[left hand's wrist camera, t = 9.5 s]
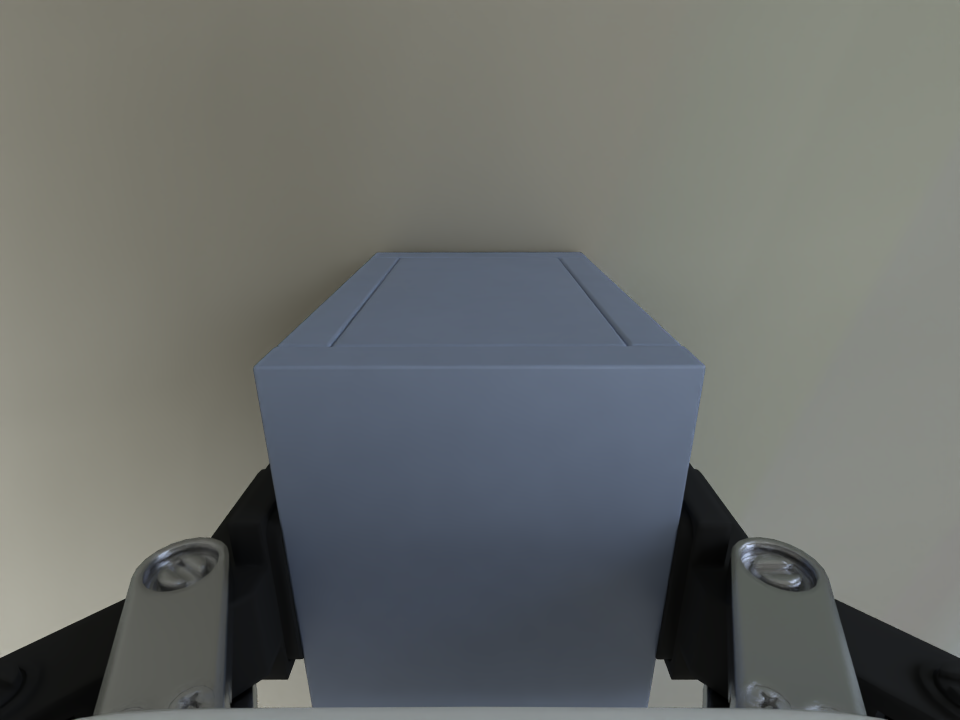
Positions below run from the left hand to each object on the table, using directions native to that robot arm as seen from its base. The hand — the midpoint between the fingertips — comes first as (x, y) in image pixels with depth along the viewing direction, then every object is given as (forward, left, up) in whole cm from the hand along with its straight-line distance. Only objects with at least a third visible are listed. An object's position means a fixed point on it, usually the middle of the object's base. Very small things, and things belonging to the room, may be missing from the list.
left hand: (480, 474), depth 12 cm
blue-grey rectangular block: (+2, -5, -6) cm, 8 cm away
